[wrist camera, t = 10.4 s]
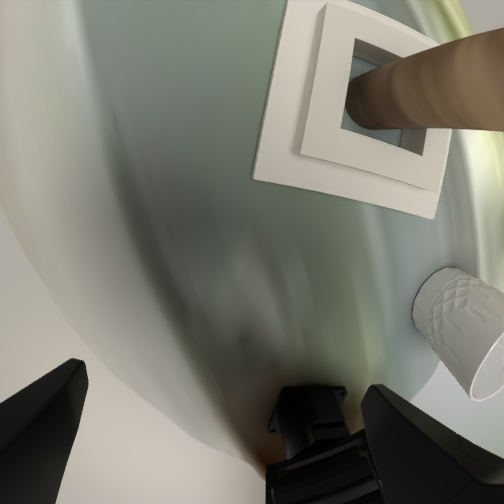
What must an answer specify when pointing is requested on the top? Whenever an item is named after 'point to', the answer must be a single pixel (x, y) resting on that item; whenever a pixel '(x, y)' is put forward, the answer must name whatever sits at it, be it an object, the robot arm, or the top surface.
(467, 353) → the white cup
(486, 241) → the top surface
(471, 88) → the dowel
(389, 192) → the socket
